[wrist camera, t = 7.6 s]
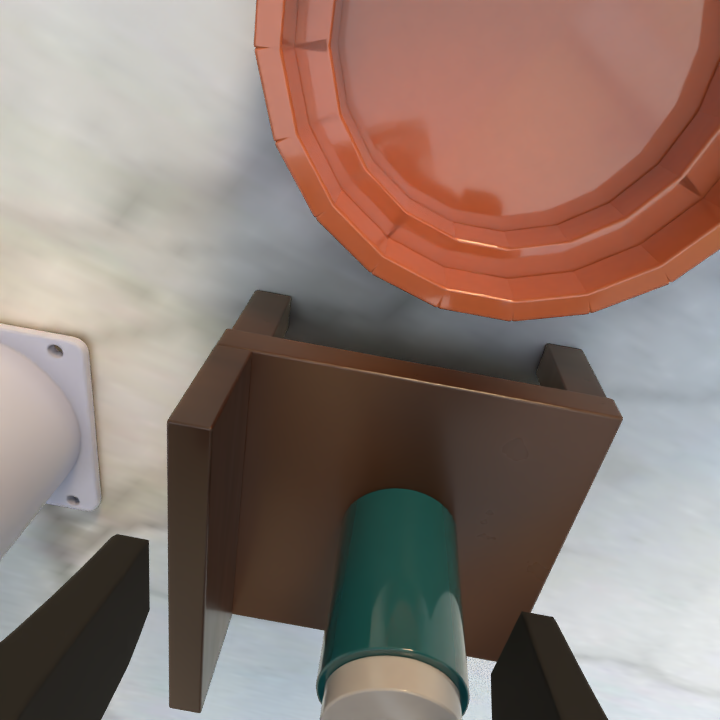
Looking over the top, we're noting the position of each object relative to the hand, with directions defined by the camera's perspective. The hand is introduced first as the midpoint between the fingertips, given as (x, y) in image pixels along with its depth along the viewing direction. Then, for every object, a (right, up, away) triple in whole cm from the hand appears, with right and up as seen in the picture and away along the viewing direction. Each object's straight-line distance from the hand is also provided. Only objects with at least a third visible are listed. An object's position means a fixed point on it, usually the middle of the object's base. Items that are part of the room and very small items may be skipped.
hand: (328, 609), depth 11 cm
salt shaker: (+2, 0, +7) cm, 7 cm away
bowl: (+5, +13, +4) cm, 14 cm away
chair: (+2, +2, +10) cm, 11 cm away
